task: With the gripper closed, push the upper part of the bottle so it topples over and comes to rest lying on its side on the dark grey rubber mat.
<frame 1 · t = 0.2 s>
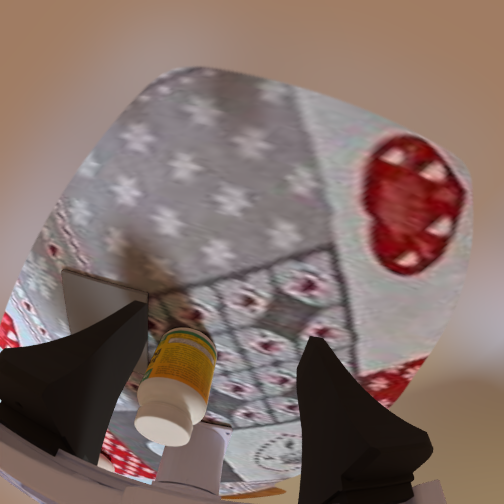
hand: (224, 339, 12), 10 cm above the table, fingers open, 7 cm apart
supplement bottle: (189, 346, 25), on the table
mat: (105, 325, 25), on the table
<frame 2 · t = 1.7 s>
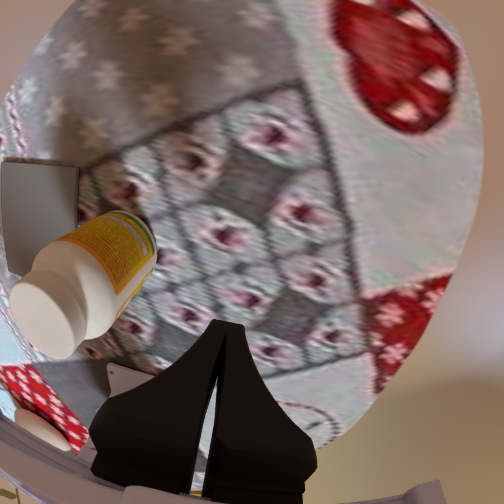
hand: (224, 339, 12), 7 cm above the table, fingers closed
flower in vase: (50, 428, 31), on the table
supplement bottle: (124, 245, 19), on the table
mat: (36, 226, 18), on the table
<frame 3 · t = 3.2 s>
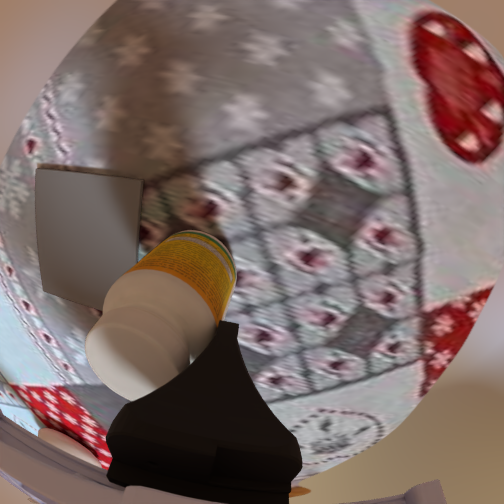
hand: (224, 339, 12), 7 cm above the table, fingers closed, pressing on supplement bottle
flower in vase: (77, 446, 31), on the table
supplement bottle: (196, 267, 18), on the table, touching gripper
mat: (83, 243, 18), on the table
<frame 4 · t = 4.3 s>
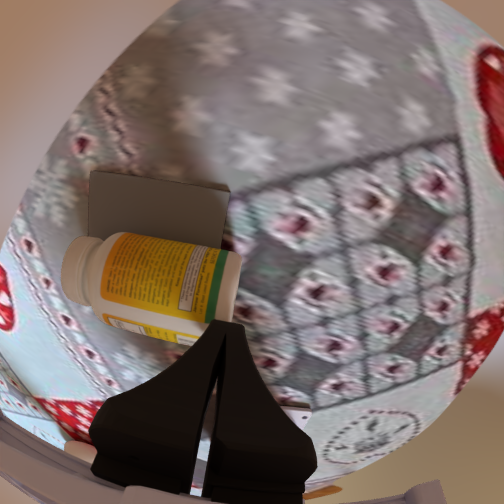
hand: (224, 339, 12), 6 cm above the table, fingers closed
flower in vase: (106, 457, 31), on the table
supplement bottle: (238, 303, 15), point 3 cm above the table, touching mat
mat: (148, 256, 18), on the table
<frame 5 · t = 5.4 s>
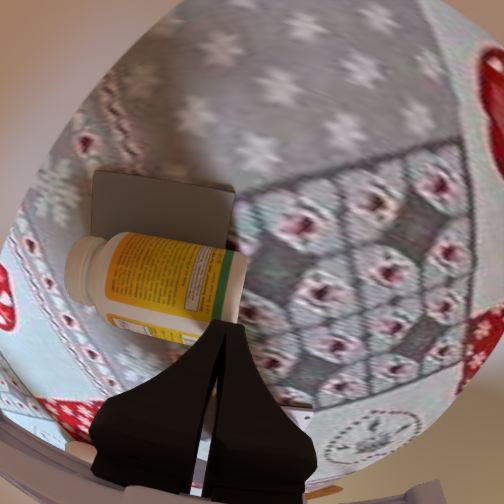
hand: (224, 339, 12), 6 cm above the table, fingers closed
flower in vase: (107, 457, 31), on the table
supplement bottle: (243, 303, 15), point 3 cm above the table, touching mat
mat: (152, 256, 18), on the table
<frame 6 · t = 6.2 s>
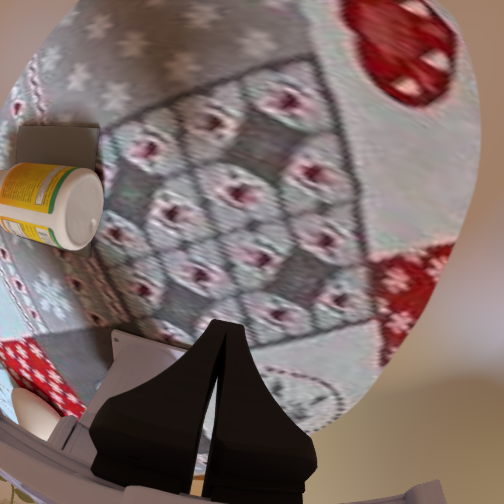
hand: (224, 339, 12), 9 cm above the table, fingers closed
flower in vase: (48, 409, 32), on the table
supplement bottle: (88, 210, 16), point 3 cm above the table, touching mat
mat: (50, 187, 19), on the table
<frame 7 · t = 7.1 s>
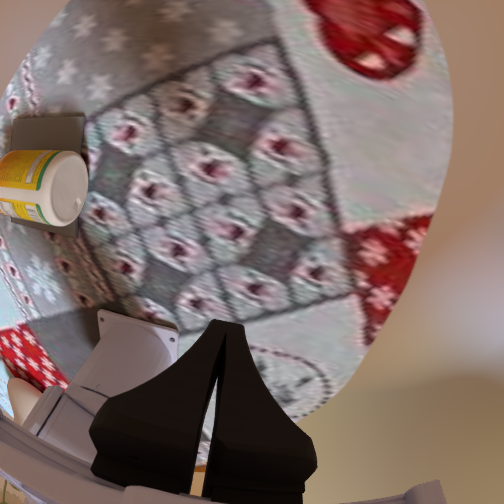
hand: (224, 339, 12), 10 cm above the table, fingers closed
flower in vase: (43, 400, 32), on the table
supplement bottle: (73, 188, 17), point 3 cm above the table, touching mat
mat: (41, 174, 19), on the table
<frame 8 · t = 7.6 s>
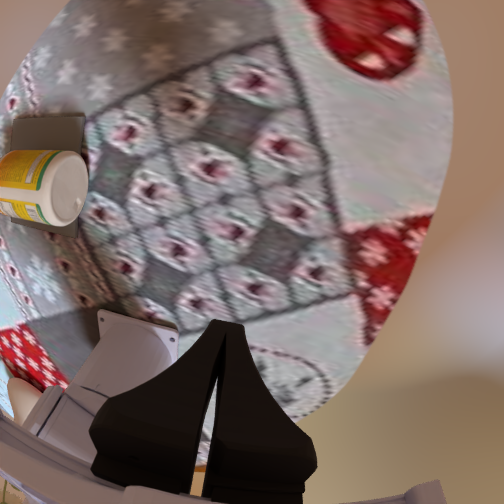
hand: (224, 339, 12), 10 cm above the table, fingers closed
flower in vase: (43, 400, 32), on the table
supplement bottle: (73, 188, 17), point 3 cm above the table, touching mat
mat: (41, 174, 19), on the table
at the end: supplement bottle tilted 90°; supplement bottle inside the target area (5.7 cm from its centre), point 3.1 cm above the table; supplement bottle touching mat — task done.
